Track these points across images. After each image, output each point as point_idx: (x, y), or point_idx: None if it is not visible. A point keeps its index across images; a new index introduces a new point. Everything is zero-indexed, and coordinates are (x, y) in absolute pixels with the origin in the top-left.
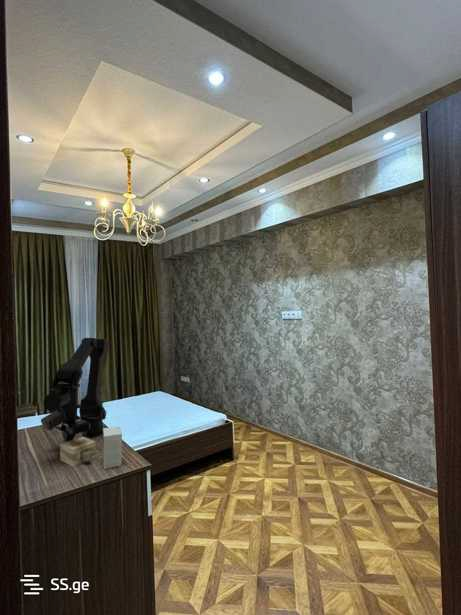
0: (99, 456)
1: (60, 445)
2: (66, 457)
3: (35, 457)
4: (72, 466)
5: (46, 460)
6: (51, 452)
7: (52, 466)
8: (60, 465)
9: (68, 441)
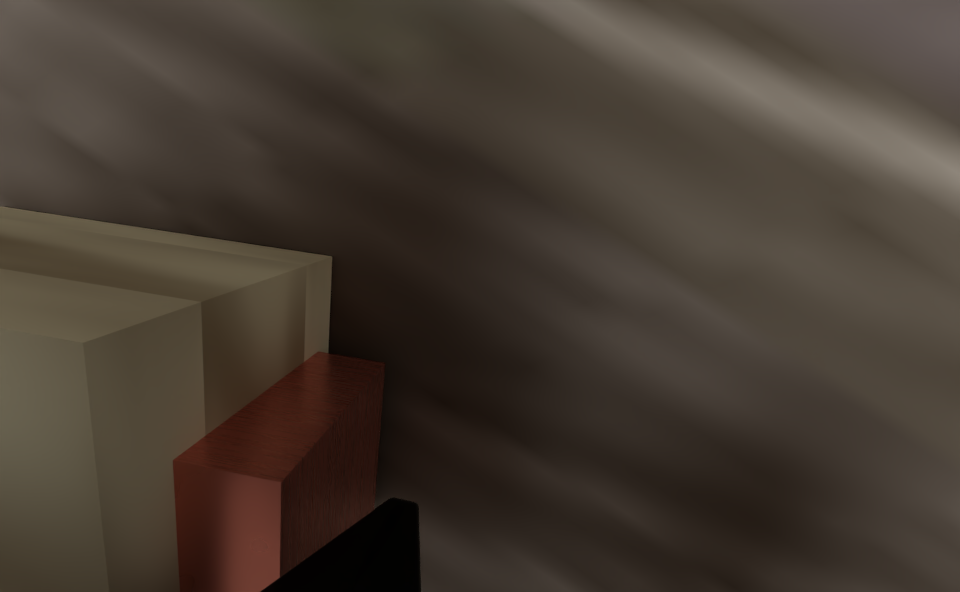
0: None
1: (113, 323)
2: (72, 241)
3: (854, 123)
4: (5, 207)
5: (528, 148)
6: (750, 387)
7: (229, 61)
8: (167, 148)
9: (81, 556)
